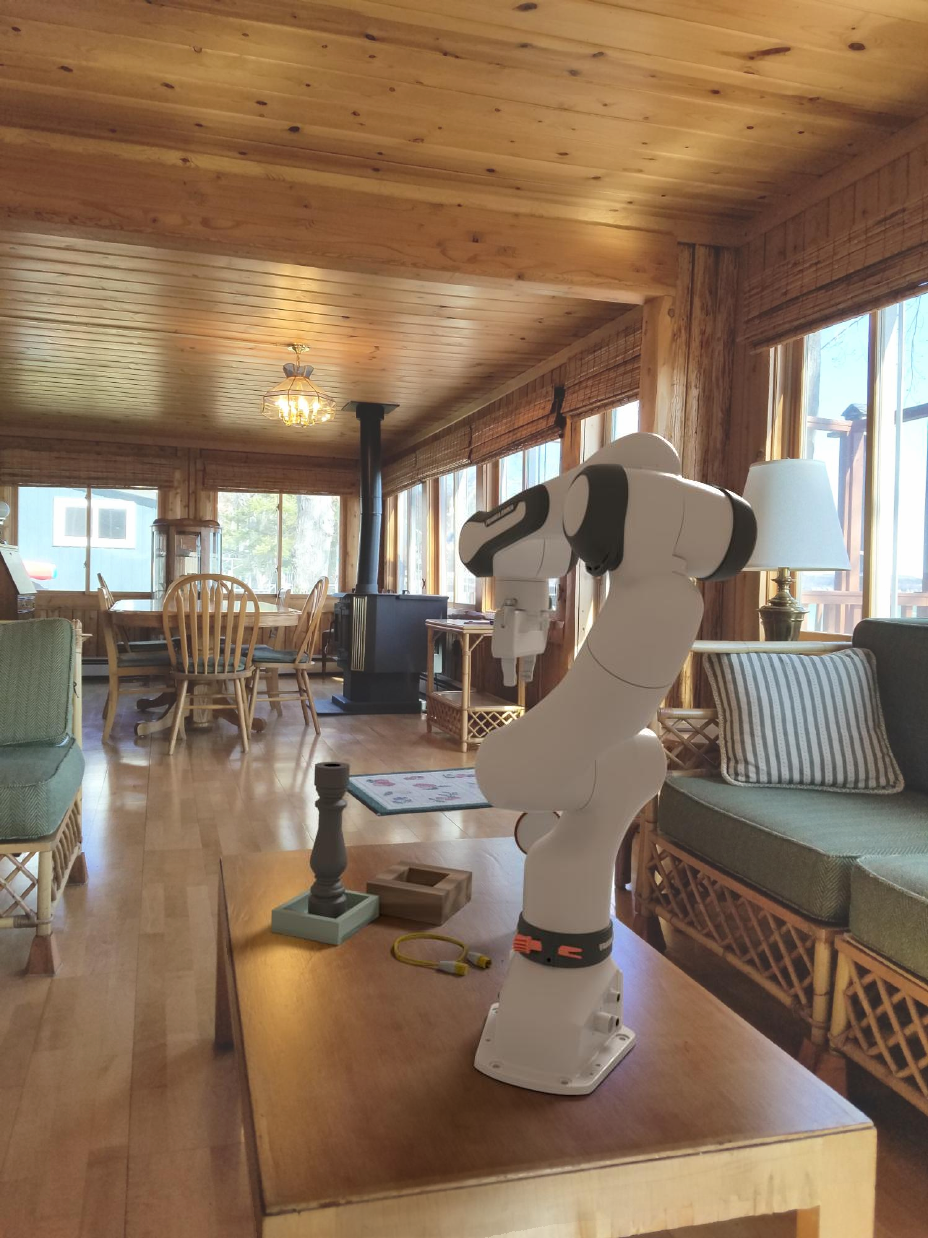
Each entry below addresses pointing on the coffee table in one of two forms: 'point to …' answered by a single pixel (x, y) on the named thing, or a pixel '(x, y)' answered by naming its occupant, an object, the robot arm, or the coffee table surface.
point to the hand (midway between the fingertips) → (518, 683)
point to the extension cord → (445, 965)
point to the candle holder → (329, 841)
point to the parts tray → (325, 918)
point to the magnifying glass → (533, 828)
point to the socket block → (421, 891)
